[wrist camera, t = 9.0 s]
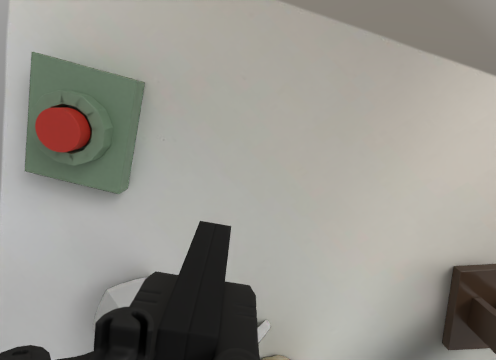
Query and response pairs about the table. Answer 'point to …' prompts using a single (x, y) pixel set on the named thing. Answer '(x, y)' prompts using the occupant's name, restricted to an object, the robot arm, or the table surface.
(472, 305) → the brown lever stand
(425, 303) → the table surface
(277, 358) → the flower pot
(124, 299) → the faucet
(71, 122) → the button
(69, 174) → the button box
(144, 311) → the robot arm
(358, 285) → the table surface
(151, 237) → the table surface
